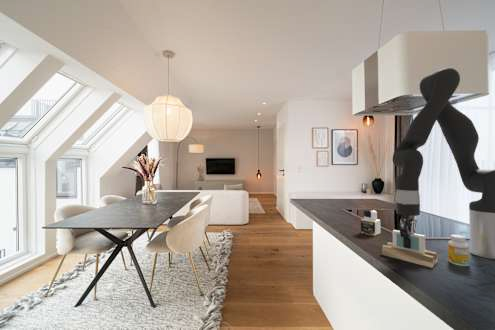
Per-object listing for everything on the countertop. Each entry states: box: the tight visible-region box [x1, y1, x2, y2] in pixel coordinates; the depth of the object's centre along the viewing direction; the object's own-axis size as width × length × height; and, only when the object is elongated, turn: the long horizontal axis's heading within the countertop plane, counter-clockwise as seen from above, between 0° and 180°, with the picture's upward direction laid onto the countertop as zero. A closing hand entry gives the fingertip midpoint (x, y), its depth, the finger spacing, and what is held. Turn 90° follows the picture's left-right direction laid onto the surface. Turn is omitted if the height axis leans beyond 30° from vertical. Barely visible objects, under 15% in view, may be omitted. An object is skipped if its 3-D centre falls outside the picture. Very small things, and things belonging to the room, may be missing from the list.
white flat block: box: [392, 229, 426, 254], centre depth 88 cm, size 2×10×8 cm, turn 40°
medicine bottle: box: [360, 209, 381, 237], centre depth 120 cm, size 7×7×12 cm
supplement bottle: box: [447, 234, 470, 267], centre depth 83 cm, size 5×5×10 cm
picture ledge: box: [381, 241, 439, 269], centre depth 88 cm, size 8×16×3 cm, turn 40°
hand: (408, 246), depth 88 cm, fingers closed on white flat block, 2 cm apart
